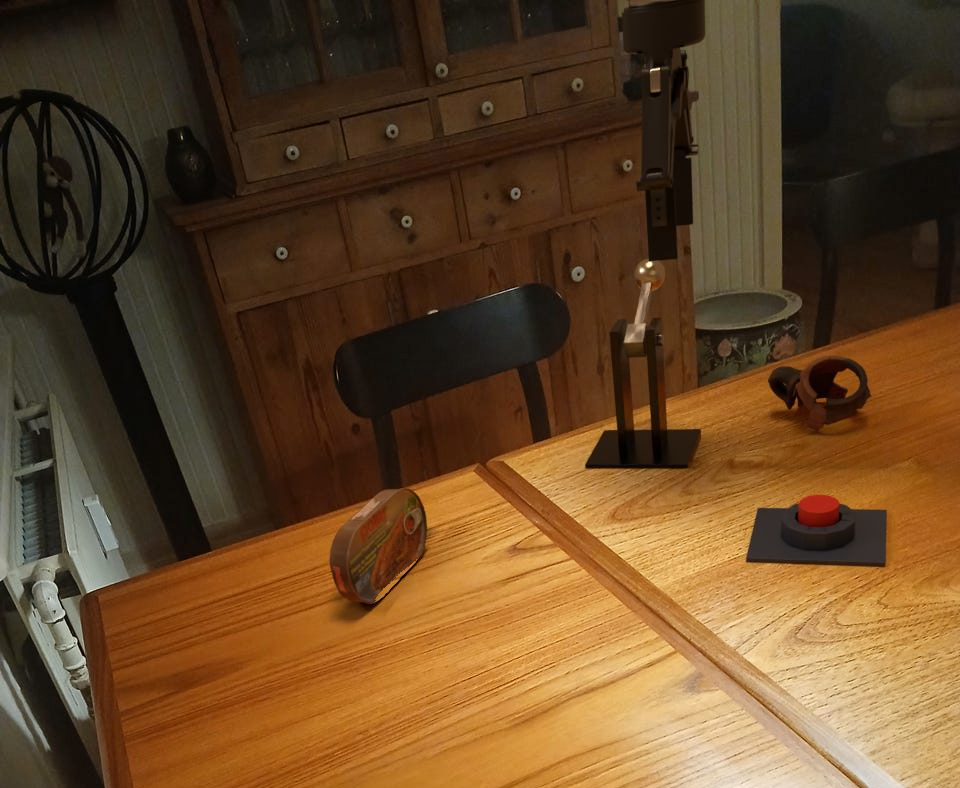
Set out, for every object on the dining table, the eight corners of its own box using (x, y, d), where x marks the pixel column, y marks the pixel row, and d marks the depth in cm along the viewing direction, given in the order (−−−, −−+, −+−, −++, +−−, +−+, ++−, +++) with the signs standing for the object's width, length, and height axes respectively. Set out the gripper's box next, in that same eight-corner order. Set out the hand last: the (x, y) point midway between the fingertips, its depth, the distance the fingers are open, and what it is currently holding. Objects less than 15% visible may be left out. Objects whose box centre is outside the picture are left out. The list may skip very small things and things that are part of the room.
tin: (363, 619, 97) (343, 545, 92) (337, 616, 98) (316, 542, 93) (435, 545, 107) (420, 474, 103) (410, 542, 109) (394, 473, 104)
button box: (885, 529, 96) (888, 492, 93) (883, 583, 88) (887, 544, 86) (757, 526, 100) (757, 491, 98) (746, 578, 92) (745, 540, 90)
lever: (638, 276, 117) (634, 252, 114) (669, 274, 116) (665, 250, 113) (621, 361, 112) (616, 339, 109) (653, 360, 111) (648, 337, 108)
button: (839, 511, 93) (840, 494, 92) (837, 529, 90) (838, 512, 89) (799, 510, 94) (800, 494, 93) (796, 528, 91) (796, 512, 90)
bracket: (604, 438, 124) (593, 313, 115) (701, 437, 120) (697, 307, 111) (585, 473, 116) (572, 342, 108) (687, 474, 112) (682, 337, 103)
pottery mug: (868, 402, 122) (885, 357, 114) (846, 462, 118) (861, 420, 111) (773, 377, 125) (783, 332, 118) (748, 435, 122) (757, 392, 114)
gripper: (642, -5, 100) (653, 215, 112) (596, 16, 81) (615, 278, 93) (717, -17, 98) (720, 209, 110) (688, 1, 79) (695, 272, 91)
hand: (672, 241), depth 101 cm, fingers open, 13 cm apart
